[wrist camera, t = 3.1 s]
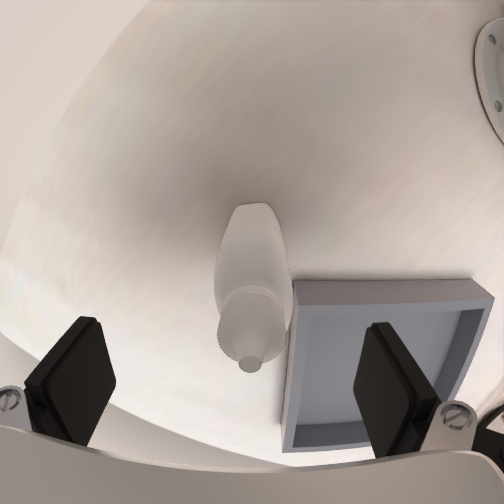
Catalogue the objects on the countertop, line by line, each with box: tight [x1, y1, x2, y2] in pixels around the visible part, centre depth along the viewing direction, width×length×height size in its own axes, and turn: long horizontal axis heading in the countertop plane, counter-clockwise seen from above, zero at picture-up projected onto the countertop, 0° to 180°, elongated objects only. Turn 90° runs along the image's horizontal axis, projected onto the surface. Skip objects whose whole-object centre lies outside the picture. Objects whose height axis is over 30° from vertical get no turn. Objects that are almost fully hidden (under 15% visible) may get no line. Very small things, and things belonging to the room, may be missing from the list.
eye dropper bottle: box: [214, 203, 293, 373], centre depth 15 cm, size 4×6×12 cm
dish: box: [281, 279, 495, 453], centre depth 22 cm, size 15×15×4 cm
